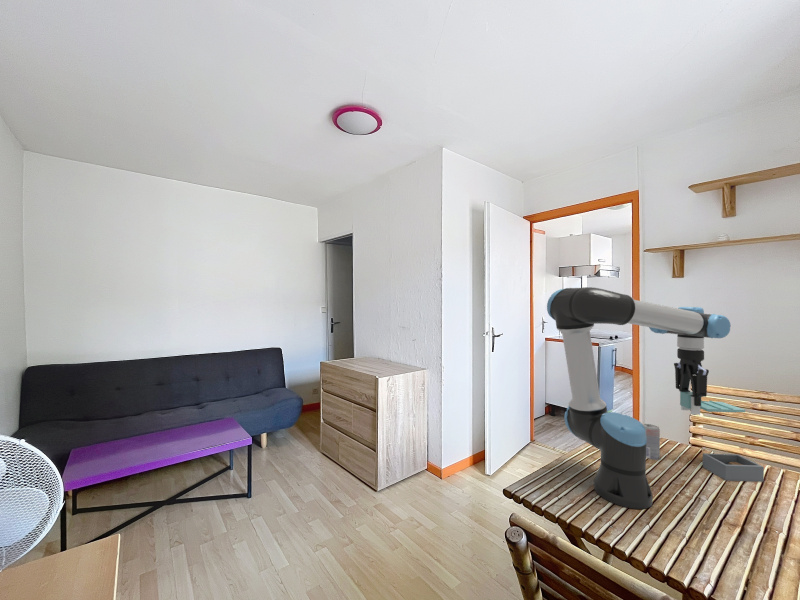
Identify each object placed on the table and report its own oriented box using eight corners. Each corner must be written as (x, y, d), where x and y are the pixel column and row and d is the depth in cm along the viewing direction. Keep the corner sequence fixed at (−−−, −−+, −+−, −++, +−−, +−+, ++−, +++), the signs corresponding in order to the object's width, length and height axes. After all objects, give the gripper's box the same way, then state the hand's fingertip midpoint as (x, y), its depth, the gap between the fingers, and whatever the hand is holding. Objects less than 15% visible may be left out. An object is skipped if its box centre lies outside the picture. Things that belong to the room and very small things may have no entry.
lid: (694, 412, 120) (694, 396, 120) (674, 404, 130) (674, 389, 130) (745, 413, 119) (745, 397, 119) (721, 405, 129) (722, 390, 128)
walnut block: (738, 475, 116) (738, 466, 116) (728, 471, 119) (728, 462, 119) (745, 474, 116) (745, 465, 116) (734, 470, 119) (735, 461, 119)
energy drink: (653, 454, 132) (653, 424, 132) (662, 461, 127) (663, 429, 127) (639, 454, 132) (639, 423, 132) (647, 460, 127) (647, 428, 127)
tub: (725, 482, 112) (725, 465, 112) (702, 468, 121) (702, 453, 121) (763, 483, 112) (763, 466, 112) (737, 469, 121) (737, 454, 121)
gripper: (721, 352, 116) (721, 420, 116) (683, 345, 133) (683, 405, 133) (698, 352, 117) (697, 420, 117) (663, 345, 134) (663, 404, 134)
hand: (690, 411), depth 125 cm, fingers closed on lid, 4 cm apart
